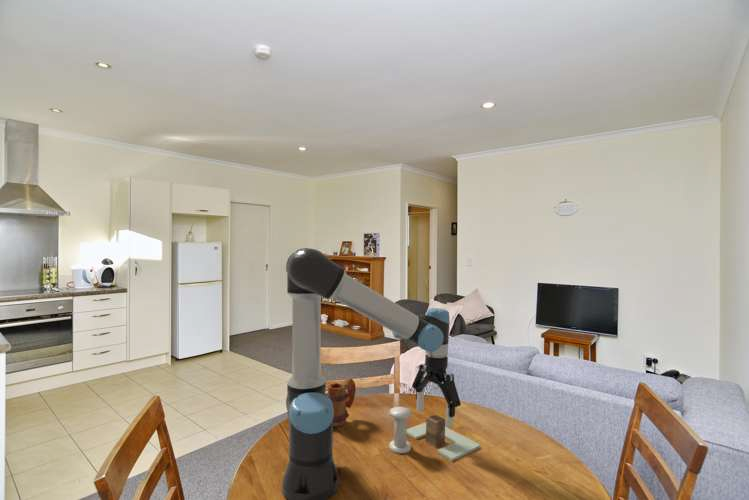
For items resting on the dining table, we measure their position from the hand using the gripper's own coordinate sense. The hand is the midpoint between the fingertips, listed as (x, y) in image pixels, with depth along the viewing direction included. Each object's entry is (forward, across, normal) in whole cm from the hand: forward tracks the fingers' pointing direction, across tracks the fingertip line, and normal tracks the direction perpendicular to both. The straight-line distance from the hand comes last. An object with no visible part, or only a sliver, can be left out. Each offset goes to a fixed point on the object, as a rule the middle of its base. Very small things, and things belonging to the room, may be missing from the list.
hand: (433, 417), depth 127 cm
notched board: (+8, 0, -4) cm, 9 cm away
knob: (+9, +4, +11) cm, 15 cm away
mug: (+9, +31, +17) cm, 36 cm away
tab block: (+8, 0, -1) cm, 8 cm away
